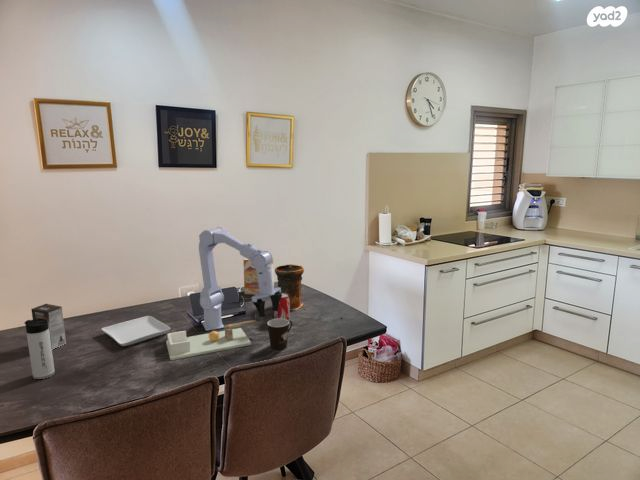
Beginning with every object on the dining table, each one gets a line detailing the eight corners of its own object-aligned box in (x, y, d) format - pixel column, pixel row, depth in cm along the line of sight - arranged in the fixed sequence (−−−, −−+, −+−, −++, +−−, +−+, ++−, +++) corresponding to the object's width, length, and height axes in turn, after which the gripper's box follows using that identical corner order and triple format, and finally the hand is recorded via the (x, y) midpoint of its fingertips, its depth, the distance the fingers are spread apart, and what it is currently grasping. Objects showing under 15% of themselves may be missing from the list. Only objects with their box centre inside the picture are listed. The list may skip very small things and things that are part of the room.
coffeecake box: (244, 294, 227) (242, 259, 223) (248, 290, 234) (247, 256, 230) (270, 295, 224) (269, 260, 220) (274, 291, 231) (273, 257, 227)
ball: (208, 339, 168) (207, 330, 167) (218, 337, 170) (217, 328, 169) (210, 343, 164) (209, 334, 164) (220, 341, 166) (219, 332, 165)
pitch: (166, 343, 167) (166, 340, 167) (240, 329, 180) (240, 327, 180) (170, 360, 153) (170, 357, 153) (251, 344, 166) (251, 342, 165)
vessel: (304, 310, 202) (302, 271, 198) (275, 311, 202) (273, 271, 198) (305, 300, 216) (304, 263, 212) (278, 301, 216) (276, 264, 212)
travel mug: (38, 371, 145) (31, 317, 141) (58, 370, 146) (51, 316, 142) (28, 380, 139) (19, 324, 135) (48, 380, 139) (40, 324, 136)
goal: (168, 343, 165) (167, 333, 164) (186, 339, 168) (185, 330, 167) (171, 354, 155) (170, 344, 154) (190, 351, 158) (189, 341, 157)
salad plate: (172, 334, 176) (172, 327, 175) (121, 351, 161) (120, 343, 160) (149, 321, 190) (149, 314, 189) (100, 335, 175) (99, 328, 174)
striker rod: (225, 335, 171) (224, 313, 169) (261, 328, 178) (260, 307, 176) (227, 340, 167) (226, 317, 165) (264, 333, 173) (264, 311, 171)
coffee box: (35, 347, 163) (29, 308, 160) (50, 340, 169) (45, 303, 166) (52, 350, 160) (47, 311, 157) (67, 343, 166) (62, 305, 163)
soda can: (287, 323, 187) (286, 298, 184) (272, 322, 188) (271, 297, 186) (291, 317, 193) (291, 293, 191) (277, 316, 195) (276, 292, 193)
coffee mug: (272, 353, 158) (271, 328, 156) (264, 344, 166) (264, 320, 164) (300, 346, 164) (299, 323, 162) (291, 338, 171) (291, 315, 169)
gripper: (258, 287, 160) (262, 320, 162) (284, 278, 171) (288, 309, 173) (246, 285, 165) (250, 318, 167) (272, 276, 176) (276, 307, 178)
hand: (269, 313), depth 170 cm, fingers open, 7 cm apart
